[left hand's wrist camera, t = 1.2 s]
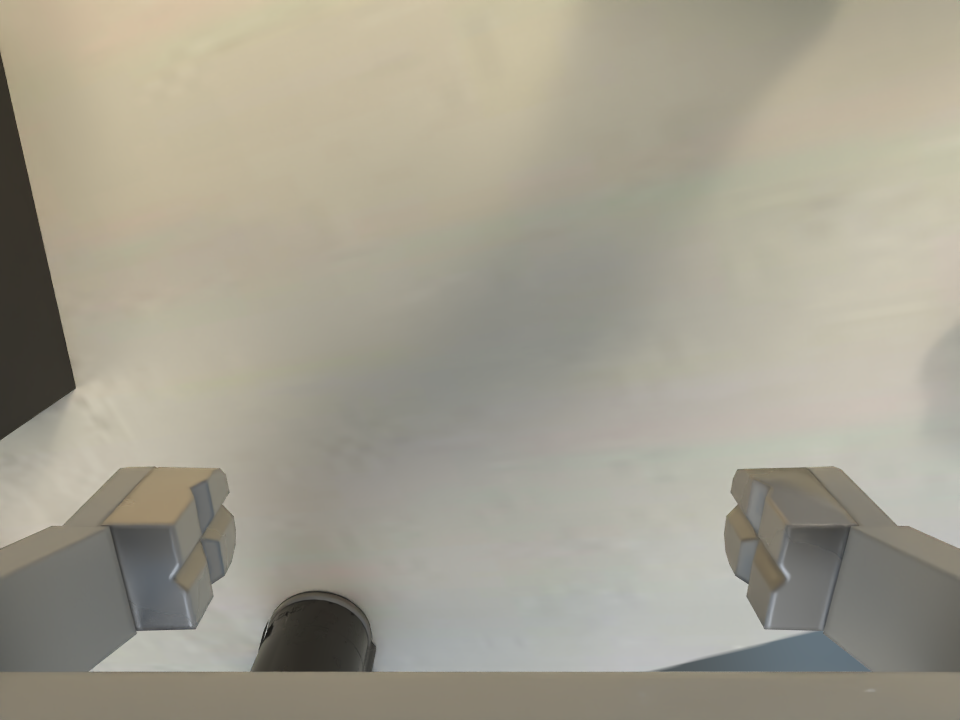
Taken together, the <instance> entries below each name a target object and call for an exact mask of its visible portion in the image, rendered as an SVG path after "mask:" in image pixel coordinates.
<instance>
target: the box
mask: <svg viewBox="0 0 960 720" xmlns="http://www.w3.org/2000/svg"><path fill="white" fill-rule="evenodd" d="M74 389H75V383H74V379H73V374H72V370H71V365H70V361H69V357H68V352H67V348H66V343H65V339H64V334H63V330H62V325H61V321H60V317H59V312H58V308H57V303H56V299H55V294H54V290H53V286H52V281H51V277H50V272H49V268H48V263H47V259H46V254H45V250H44V246H43V241H42V237H41V232H40V228H39V223H38V219H37V215H36V210H35V206H34V201H33V197H32V192H31V188H30V184H29V179H28V175H27V170H26V166H25V161H24V157H23V152H22V148H21V144H20V139H19V135H18V130H17V126H16V121H15V117H14V113H13V108H12V104H11V99H10V95H9V90H8V86H7V81H6V77H5V73H4V68H3V64H2V59H1V55H0V440H1V439H3V438H4V437H5V436H7V435H8V434H10V433H11V432H13V431H14V430H16V429H17V428H19V427H20V426H21V425H23V424H24V423H26V422H27V421H29V420H30V419H32V418H33V417H35V416H36V415H37V414H39V413H40V412H42V411H43V410H45V409H46V408H48V407H49V406H51V405H52V404H54V403H55V402H56V401H58V400H59V399H61V398H62V397H64V396H65V395H67V394H68V393H70V392H71V391H72V390H74Z"/></svg>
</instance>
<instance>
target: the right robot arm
mask: <svg viewBox="0 0 960 720" xmlns="http://www.w3.org/2000/svg"><path fill="white" fill-rule="evenodd" d="M267 624H268V622H267ZM266 628H267V625H266V627H265V629H264V632H263V636H262V639H261V643H260V647H259V651H258V654H257V657H256V659H255V662H254V664H253V666H252V669H251V671H250V672H372V667H373V662H374V657H375V652H376V647H375V646H374V645H373V644H372V642H371V628H370V625H369V622H368V620H367V618H366V617H365V615H364V614H363V613H362V611H361V610H360V609H359V608H358V607H357V606H355V605H354V604H353V603H351V602H350V601H348V600H346V599H344V598H342V597H339V596H337V595H333V594H329V593H322V592H309V593H303V594H299V595H296V596H293V597H291V598H289V599H287V600H286V601H284V602H283V603H282V604H281V605H280V606H279V607H278V608H277V609H276V610H275V612H274V613H273V615H272V618H271V620H270V623H269V625H268V629H267V633H266V635H265V632H266ZM264 636H265V638H264ZM263 639H264V640H263Z"/></svg>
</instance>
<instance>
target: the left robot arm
mask: <svg viewBox="0 0 960 720" xmlns="http://www.w3.org/2000/svg"><path fill="white" fill-rule="evenodd" d="M228 494H229V488H228V483H227V478H226V474H225V473H224V472H223V471H222V470H221V469H220V468H181V467H158V468H157V467H126V468H121V469H119V470H118V471H117V472H116V473H115V474H114V475H113V476H112V477H111V478H110V479H109V480H108V481H107V482H106V483H105V484H104V485H103V486H102V487H101V488H100V489H99V490H98V491H97V492H96V493H95V494H94V495H93V496H92V497H91V498H90V499H89V500H88V501H87V502H86V503H85V504H84V505H83V506H82V507H81V508H80V509H79V510H78V511H77V512H76V513H75V514H74V515H73V516H72V517H71V518H70V519H69V520H68V521H67V522H66V523H65V524H64V525H63V526H51V527H49V528H46V529H44V530H42V531H40V532H37V533H35V534H33V535H31V536H28V537H26V538H24V539H21V540H19V541H17V542H15V543H12V544H10V545H8V546H6V547H3V548H1V549H0V720H960V549H959V548H956V547H954V546H952V545H950V544H947V543H945V542H943V541H941V540H938V539H936V538H934V537H932V536H929V535H927V534H925V533H923V532H920V531H918V530H916V529H914V528H911V527H909V526H897V525H896V524H895V523H894V522H893V521H892V520H891V519H890V518H889V517H888V516H887V515H886V514H885V513H884V512H883V511H882V510H881V509H880V508H879V507H878V506H877V505H876V504H875V503H874V502H873V501H872V500H871V499H870V498H869V497H868V496H867V495H866V494H865V493H864V492H863V491H862V490H861V489H860V488H859V487H858V486H857V485H856V484H855V483H854V482H853V481H852V480H851V479H850V478H849V477H848V476H847V475H846V474H845V473H844V472H843V471H842V470H841V469H839V468H836V467H833V466H829V467H803V468H763V469H737V471H736V473H735V476H734V478H733V481H732V487H731V494H732V496H733V497H734V499H735V500H736V502H737V503H738V505H737V506H736V507H735V508H734V509H733V510H732V511H731V512H730V513H729V514H728V515H727V516H726V523H725V531H724V539H725V551H726V555H727V558H728V561H729V564H730V566H731V568H732V570H733V572H734V574H735V576H737V577H738V578H740V579H741V580H743V581H744V582H746V583H747V584H749V585H748V591H747V598H748V600H749V602H750V604H751V605H752V607H753V609H754V611H755V613H756V614H757V616H758V618H759V620H760V622H761V624H762V625H763V627H764V629H776V630H812V631H824V632H823V634H825V635H826V636H827V637H828V638H830V639H831V640H832V641H833V642H835V643H836V644H837V645H839V646H840V647H841V648H842V649H844V650H845V651H846V652H847V653H849V654H850V655H851V656H853V657H854V658H855V659H856V660H858V661H859V662H860V663H862V664H863V665H864V666H865V667H867V668H868V669H869V670H870V671H872V672H88V671H90V670H91V669H92V668H94V667H95V666H96V665H97V664H99V663H100V662H101V661H103V660H104V659H105V658H106V657H108V656H109V655H110V654H111V653H113V652H114V651H115V650H117V649H118V648H119V647H120V646H122V645H123V644H124V643H125V642H127V641H128V640H129V639H131V638H132V637H133V636H134V635H136V633H137V632H136V631H147V630H183V629H196V627H197V625H198V624H199V622H200V620H201V618H202V616H203V615H204V613H205V611H206V609H207V607H208V605H209V604H210V602H211V600H212V598H213V591H212V586H211V584H213V583H214V582H216V581H217V580H219V579H220V578H222V577H223V576H225V574H226V572H227V570H228V568H229V566H230V564H231V562H232V558H233V553H234V549H235V544H236V529H235V522H234V516H233V515H232V514H231V513H230V512H229V511H228V510H227V509H226V508H225V507H224V506H223V505H222V503H223V502H224V500H225V499H226V497H227V495H228Z"/></svg>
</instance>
